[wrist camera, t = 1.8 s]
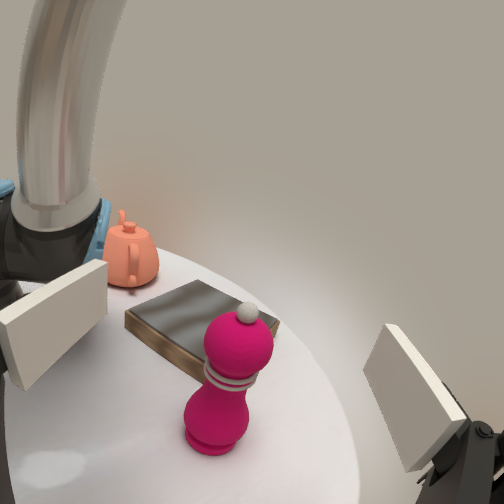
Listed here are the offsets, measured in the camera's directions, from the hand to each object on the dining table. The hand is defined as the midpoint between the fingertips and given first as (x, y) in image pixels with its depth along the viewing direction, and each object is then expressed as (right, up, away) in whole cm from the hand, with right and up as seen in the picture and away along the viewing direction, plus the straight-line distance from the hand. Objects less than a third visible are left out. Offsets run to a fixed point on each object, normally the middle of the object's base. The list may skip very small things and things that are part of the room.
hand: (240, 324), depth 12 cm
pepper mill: (-5, -19, +16) cm, 26 cm away
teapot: (-29, -2, +48) cm, 56 cm away
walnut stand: (-8, -11, +36) cm, 38 cm away
